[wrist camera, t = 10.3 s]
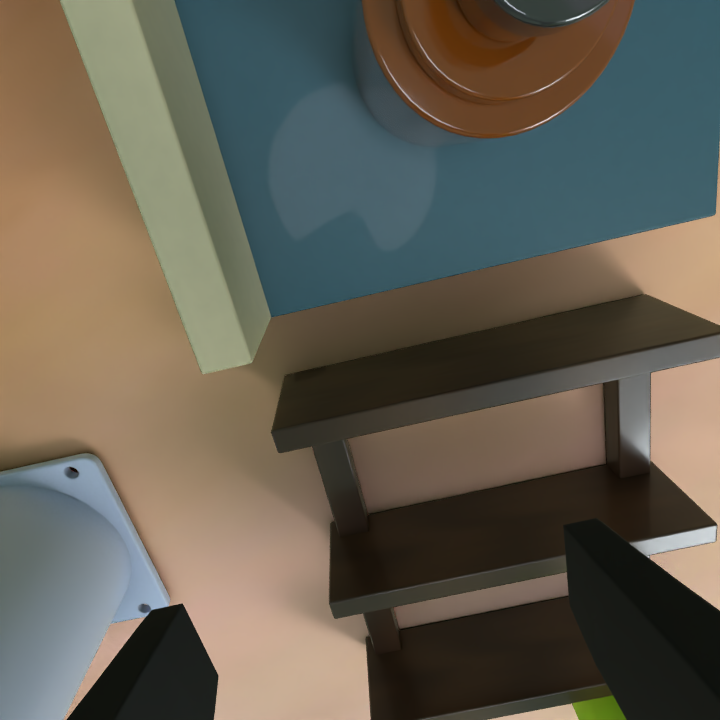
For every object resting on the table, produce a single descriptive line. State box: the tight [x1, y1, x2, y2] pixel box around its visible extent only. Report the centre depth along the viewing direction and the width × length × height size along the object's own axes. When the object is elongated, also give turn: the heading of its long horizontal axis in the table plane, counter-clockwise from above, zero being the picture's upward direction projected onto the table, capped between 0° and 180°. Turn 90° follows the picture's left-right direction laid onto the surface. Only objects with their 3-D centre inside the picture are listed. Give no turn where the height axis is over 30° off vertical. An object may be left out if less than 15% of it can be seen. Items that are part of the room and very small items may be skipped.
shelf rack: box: [271, 294, 720, 720], centre depth 18 cm, size 13×14×4 cm
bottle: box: [351, 0, 635, 147], centre depth 9 cm, size 4×4×7 cm
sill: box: [60, 0, 720, 374], centre depth 11 cm, size 14×11×6 cm
